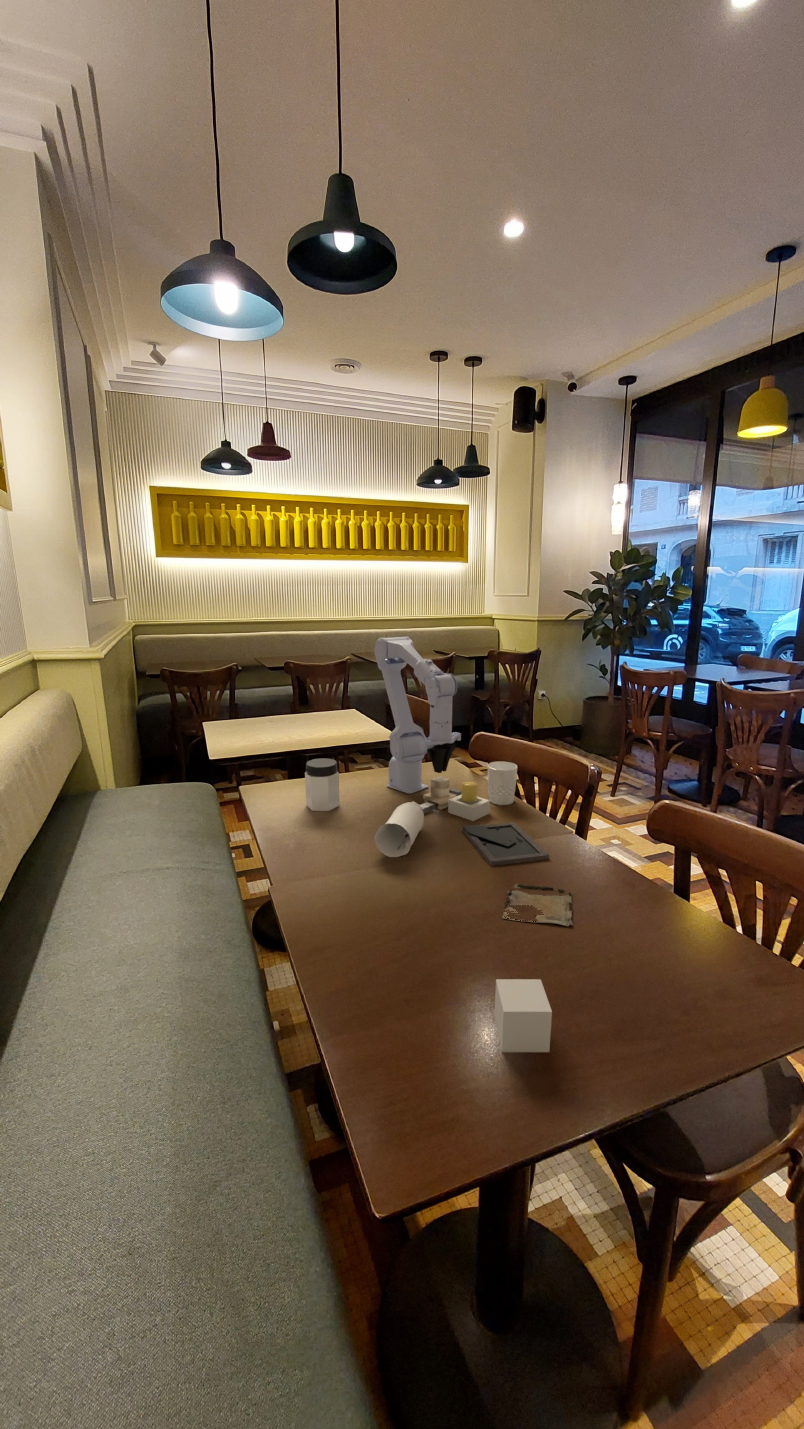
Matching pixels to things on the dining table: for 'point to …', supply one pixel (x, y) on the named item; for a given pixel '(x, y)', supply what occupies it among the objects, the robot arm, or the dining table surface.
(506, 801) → the white cup
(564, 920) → the parchment
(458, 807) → the frame
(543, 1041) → the white cube
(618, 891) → the dining table surface
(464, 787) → the cylinder
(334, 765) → the jar
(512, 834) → the picture frame
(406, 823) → the white hollow cylinder
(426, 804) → the gray block handle
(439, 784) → the carriage
